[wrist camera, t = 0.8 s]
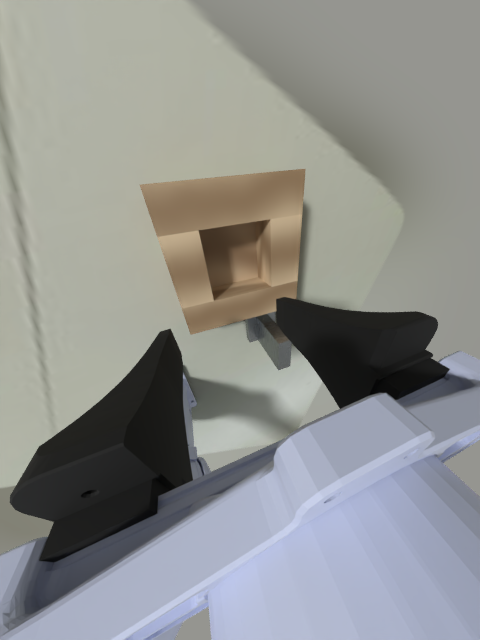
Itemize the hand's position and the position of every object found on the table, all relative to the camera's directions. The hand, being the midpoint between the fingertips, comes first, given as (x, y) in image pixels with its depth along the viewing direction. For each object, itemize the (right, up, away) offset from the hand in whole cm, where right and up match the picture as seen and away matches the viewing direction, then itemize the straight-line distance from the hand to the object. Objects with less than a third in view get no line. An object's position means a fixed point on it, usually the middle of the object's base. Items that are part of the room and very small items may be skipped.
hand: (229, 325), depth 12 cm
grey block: (+3, 0, +13) cm, 14 cm away
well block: (-1, +7, +7) cm, 10 cm away
